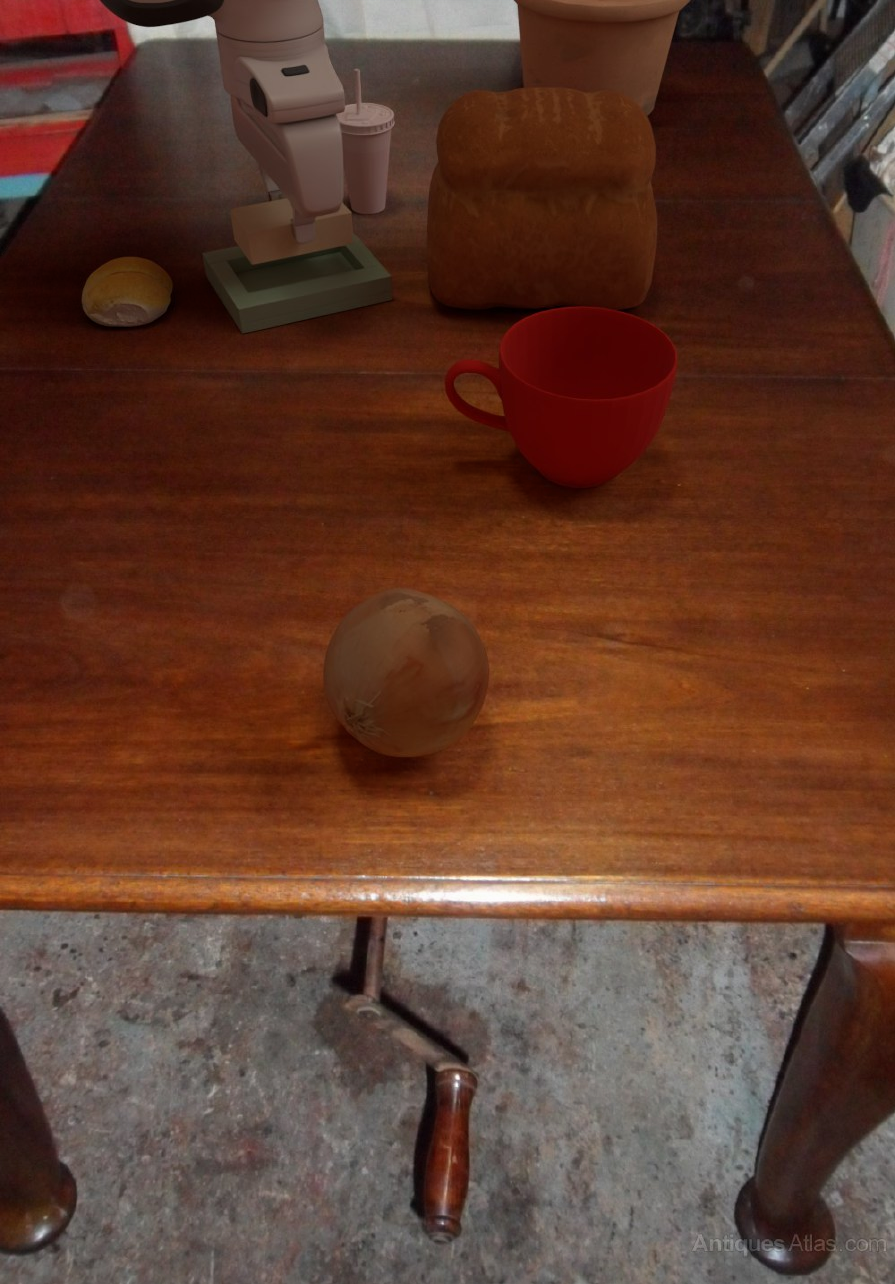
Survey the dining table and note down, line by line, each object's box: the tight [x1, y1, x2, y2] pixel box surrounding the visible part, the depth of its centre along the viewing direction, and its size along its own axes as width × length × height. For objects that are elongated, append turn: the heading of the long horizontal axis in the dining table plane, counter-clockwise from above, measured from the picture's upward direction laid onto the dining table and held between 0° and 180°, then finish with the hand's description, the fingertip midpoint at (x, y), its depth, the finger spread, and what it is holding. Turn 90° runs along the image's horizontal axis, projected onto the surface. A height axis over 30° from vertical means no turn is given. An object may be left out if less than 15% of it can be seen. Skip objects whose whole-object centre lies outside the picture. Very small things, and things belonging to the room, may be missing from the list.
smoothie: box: [336, 68, 396, 215], centre depth 111 cm, size 6×6×14 cm
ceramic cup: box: [444, 306, 679, 489], centre depth 81 cm, size 13×17×10 cm
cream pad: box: [229, 198, 354, 265], centre depth 99 cm, size 10×6×3 cm, turn 115°
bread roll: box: [81, 256, 174, 328], centre depth 100 cm, size 8×9×4 cm
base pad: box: [202, 232, 393, 335], centre depth 103 cm, size 15×12×2 cm
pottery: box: [513, 0, 691, 117], centre depth 132 cm, size 22×22×14 cm
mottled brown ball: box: [322, 587, 490, 758], centre depth 62 cm, size 10×10×10 cm
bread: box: [426, 87, 658, 311], centre depth 99 cm, size 18×22×17 cm
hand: (291, 224), depth 99 cm, fingers closed on cream pad, 5 cm apart
